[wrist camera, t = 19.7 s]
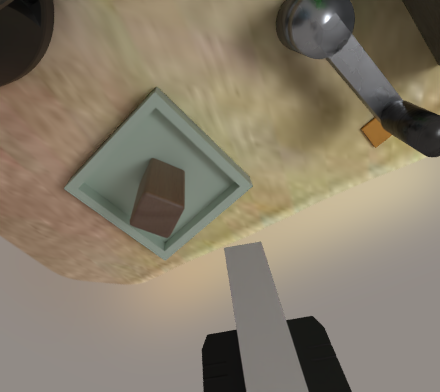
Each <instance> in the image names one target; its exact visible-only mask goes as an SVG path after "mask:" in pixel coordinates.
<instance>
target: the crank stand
mask: <svg viewBox="0 0 440 392" xmlns="http://www.w3.org/2000/svg"><path fill="white" fill-rule="evenodd" d="M297 2H298V0H286V1H285V2H284V3H283V4H282V6H281V7H280V9H279V12H278V15H277V19H276V30H277V34H278V37H279V39H280V41H281V42H282V43H283V44H284V45H285V46H286V47H287V48H289V49H291V50H294V51H296V52H298V51H297V50H296V49H295V48H294V46H293V45H292V43H291V41H290V39H289V35H288V21H289V16H290V14H291V11H292V9H293V7H294V6H295V4H296V3H297ZM403 2H404V4H405V6H406V8H407V9H408V11H409V13H410V15H411V16H412V18H413V20H414V22H415V24H416V25H417V27H418V29H419V31H420V33H421V34H422V36H423V38H424V40H425V42H426V43H427V45H428V47H429V49H430V50H431V52H432V54H433V56H434V58H435V59H436V61H437V63H438V65H440V0H403ZM298 53H300V52H298ZM361 130H362V131H363V132H364V134H365V135H366V136H367V138H368V139H369V140H370V142H371V143H372V144H373V146H374V147H375V148H376V147H377V146H379V145H380V144H381V143H383V142H384V141H385V140H386V139H388V138H389V137H390V136H391V135H392V134H390V133H389V132H387V131H385V130H384V129H383V127H382V125H381V123H380V122H378V120H377V119H376V118H373V119H372V120H371V121H370V122H368V123H367V124H366V125H365V126H364V127H362V128H361Z"/></svg>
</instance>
